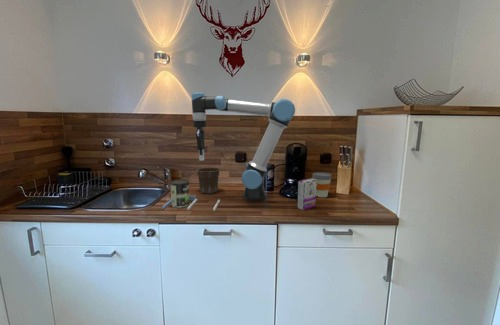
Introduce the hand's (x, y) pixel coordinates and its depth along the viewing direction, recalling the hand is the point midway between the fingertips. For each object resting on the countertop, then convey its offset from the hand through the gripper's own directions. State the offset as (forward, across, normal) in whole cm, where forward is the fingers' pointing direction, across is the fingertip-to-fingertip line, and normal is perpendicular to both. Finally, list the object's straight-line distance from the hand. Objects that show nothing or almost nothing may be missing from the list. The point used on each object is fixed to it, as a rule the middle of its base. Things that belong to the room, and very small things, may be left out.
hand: (201, 160), depth 142 cm
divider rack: (+26, +6, -6) cm, 27 cm away
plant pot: (+26, -22, -2) cm, 34 cm away
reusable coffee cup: (+29, -18, +76) cm, 83 cm away
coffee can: (+26, +6, -13) cm, 29 cm away
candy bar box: (+29, +7, +61) cm, 68 cm away
